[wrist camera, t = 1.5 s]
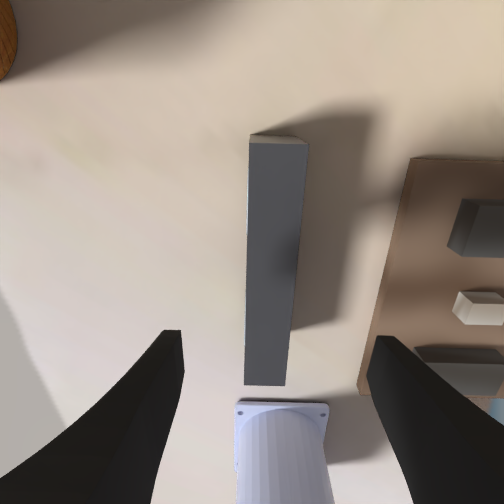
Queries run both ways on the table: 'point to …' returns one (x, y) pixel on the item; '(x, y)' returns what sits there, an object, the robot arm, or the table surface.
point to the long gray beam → (272, 253)
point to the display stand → (447, 275)
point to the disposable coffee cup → (7, 37)
